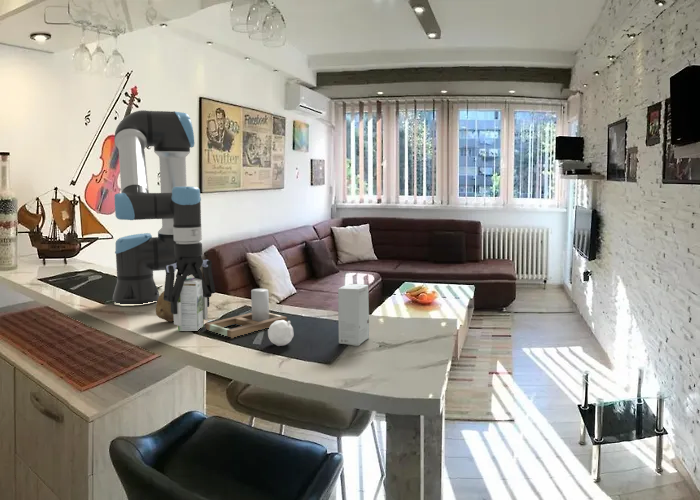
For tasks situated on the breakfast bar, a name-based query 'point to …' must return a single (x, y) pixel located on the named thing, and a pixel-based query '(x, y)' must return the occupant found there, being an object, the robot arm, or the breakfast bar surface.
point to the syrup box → (191, 305)
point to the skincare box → (353, 314)
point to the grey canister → (260, 304)
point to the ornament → (280, 332)
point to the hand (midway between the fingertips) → (191, 321)
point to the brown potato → (164, 309)
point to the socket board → (243, 320)
